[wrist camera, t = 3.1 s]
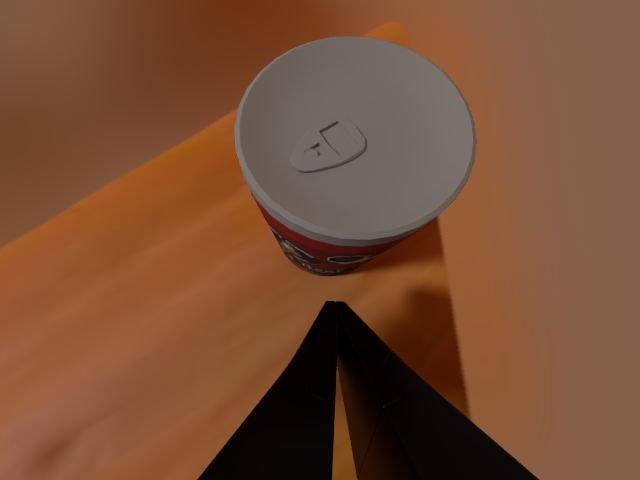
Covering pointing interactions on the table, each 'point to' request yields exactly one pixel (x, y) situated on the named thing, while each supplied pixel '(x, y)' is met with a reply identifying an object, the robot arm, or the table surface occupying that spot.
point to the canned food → (352, 148)
